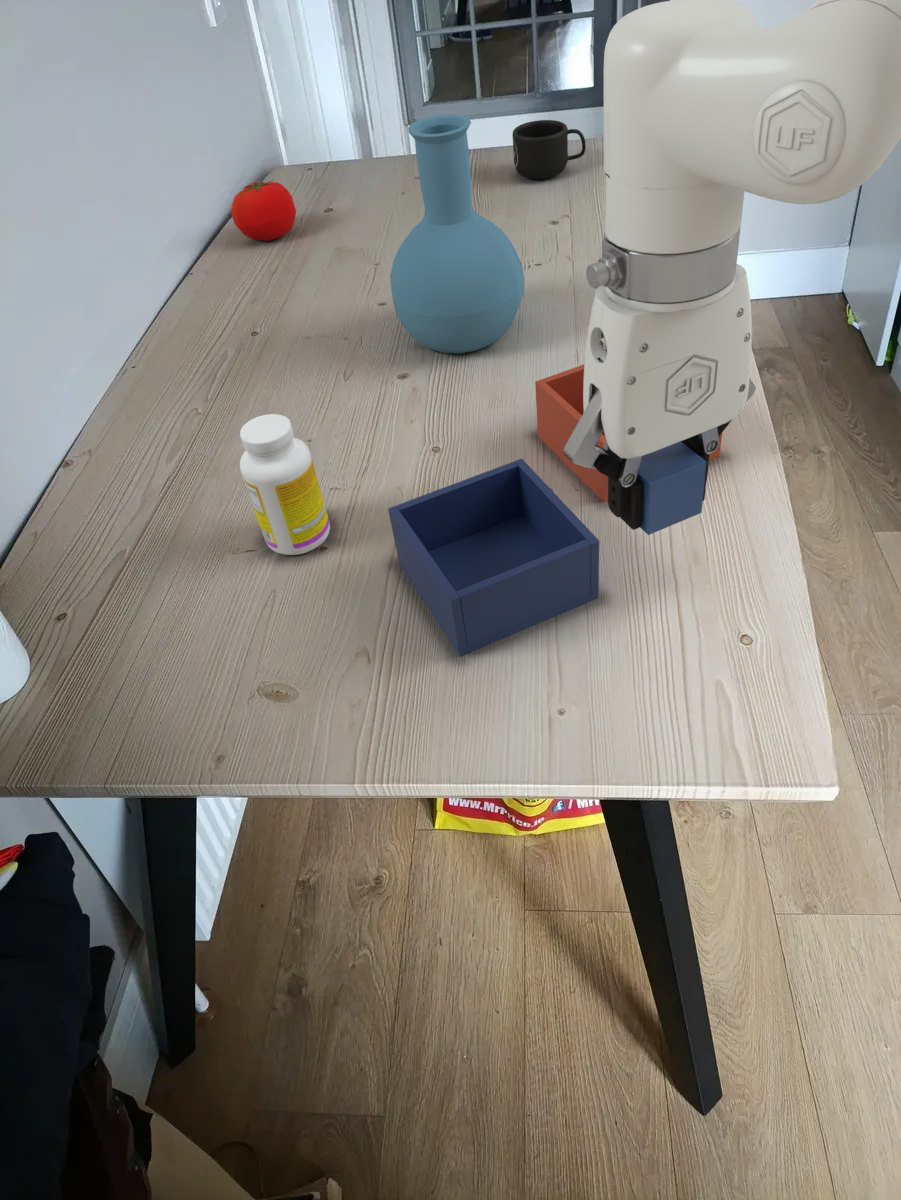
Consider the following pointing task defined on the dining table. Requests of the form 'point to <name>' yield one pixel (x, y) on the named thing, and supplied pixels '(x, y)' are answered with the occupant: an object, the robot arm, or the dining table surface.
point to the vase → (453, 252)
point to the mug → (542, 148)
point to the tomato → (264, 211)
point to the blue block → (671, 486)
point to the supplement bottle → (283, 486)
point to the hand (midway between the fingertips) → (657, 503)
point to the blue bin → (495, 555)
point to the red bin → (570, 422)
